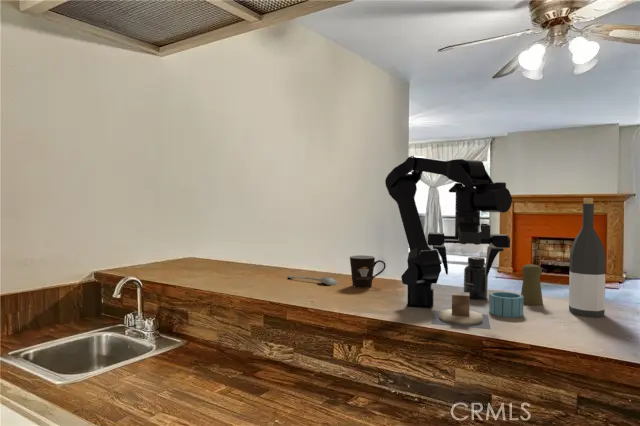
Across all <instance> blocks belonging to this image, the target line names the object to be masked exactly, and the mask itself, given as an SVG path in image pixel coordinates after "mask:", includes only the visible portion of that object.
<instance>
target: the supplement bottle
mask: <svg viewBox="0 0 640 426" xmlns="http://www.w3.org/2000/svg"><path fill="white" fill-rule="evenodd" d="M467 264H468V265H466V266H465V267H464V270H463V292H467V293H469V295H470V299H471V300H486V299H487V297H488V290H489V289H488V285H489V284H488V283H489V275H488V276H485V266H486V258H484V257H481V256H480V257H478V256H469V257H467Z"/></svg>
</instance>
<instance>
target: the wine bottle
mask: <svg viewBox="0 0 640 426" xmlns="http://www.w3.org/2000/svg"><path fill="white" fill-rule="evenodd" d="M581 205H582V224H581V225H582V227H581V229H580V231H579V232H578V234H577V235H576V237H575V238H574V241H573V242H572V245H571V248H570V252H569V275H568V276H569V279H568V280H569V281H568V284H569V285H568V286H569V288H568V290H569V291H568V310H569V312H570V313H571V314H572V315H577V316H580V317H581V316H582V317H588V318H600V317H604V316H605V308H606V305H605V304H606V267H607V266H606V263H607V261H606V259H607V256H606V252H605V248H604V245H603V242H602V240H601V239H600V237H599V235H598V233H597V232H596V230H595V227H594V212H595V210H594V209H595V207H594V206H595V203H594V198H593V197H584V198H583V203H582V204H581Z"/></svg>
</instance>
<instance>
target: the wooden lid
mask: <svg viewBox="0 0 640 426" xmlns="http://www.w3.org/2000/svg"><path fill="white" fill-rule="evenodd" d="M470 303H471V302H470V295H469V293H467V292H464V291H461V292H460V291H452V294H451V309H443V310H439V311H440V312H439V318H440V319H441V320H442V321H445V322H448V323H453V324H461V325H473V324H479V323H481V322H482V313H480V312H477V311H473V310H471V309H470Z"/></svg>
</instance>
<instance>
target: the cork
mask: <svg viewBox="0 0 640 426" xmlns="http://www.w3.org/2000/svg"><path fill="white" fill-rule="evenodd" d="M521 274H522V275H523V280H522V286H521V292H520V295H523V297H524V304H523V305H526V306H533V305H539V306H543V305H544V303H543V302H544V301H543V300H544V299H543V293H542V285H541V276H542V275H543V270H542V267H541V266H539V265H537V264H533V263H532V264H531V263H529V264H524V265H523V266H522V268H521Z"/></svg>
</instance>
